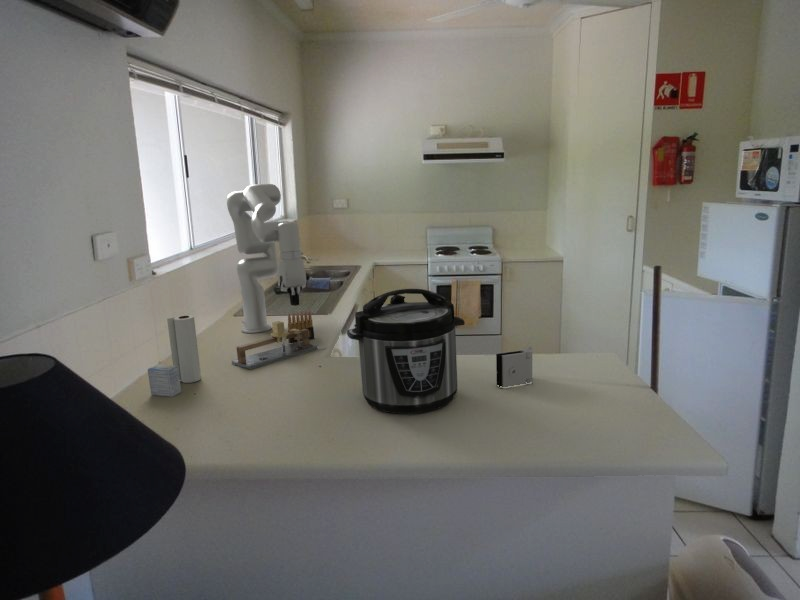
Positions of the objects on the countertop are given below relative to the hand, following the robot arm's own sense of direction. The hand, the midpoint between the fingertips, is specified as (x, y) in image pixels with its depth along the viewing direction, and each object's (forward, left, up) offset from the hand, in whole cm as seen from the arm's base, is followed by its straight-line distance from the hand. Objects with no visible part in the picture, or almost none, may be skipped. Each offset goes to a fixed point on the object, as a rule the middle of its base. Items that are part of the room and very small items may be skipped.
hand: (295, 304), depth 214 cm
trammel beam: (0, -10, -16) cm, 19 cm away
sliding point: (0, -8, -16) cm, 18 cm away
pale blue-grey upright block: (+4, -54, -18) cm, 57 cm away
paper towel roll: (-2, -43, -18) cm, 46 cm away
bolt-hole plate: (-1, -10, -18) cm, 20 cm away
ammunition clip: (-10, +9, -18) cm, 22 cm away
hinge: (+85, +16, -18) cm, 88 cm away
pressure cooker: (+68, -13, -18) cm, 72 cm away
